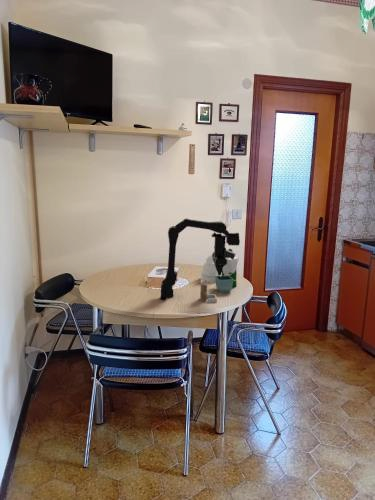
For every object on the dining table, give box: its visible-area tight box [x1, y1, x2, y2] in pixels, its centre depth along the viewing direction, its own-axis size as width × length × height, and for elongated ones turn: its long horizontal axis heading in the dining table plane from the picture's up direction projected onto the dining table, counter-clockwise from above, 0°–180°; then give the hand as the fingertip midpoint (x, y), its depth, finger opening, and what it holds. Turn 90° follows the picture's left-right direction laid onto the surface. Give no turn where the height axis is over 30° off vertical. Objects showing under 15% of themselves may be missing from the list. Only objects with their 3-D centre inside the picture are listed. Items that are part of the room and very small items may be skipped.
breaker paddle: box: [199, 279, 208, 302], centre depth 203 cm, size 3×5×10 cm, turn 2°
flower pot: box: [214, 275, 233, 293], centre depth 221 cm, size 9×9×9 cm
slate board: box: [207, 293, 218, 303], centre depth 205 cm, size 17×10×3 cm, turn 92°
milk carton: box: [221, 256, 239, 288], centre depth 233 cm, size 9×9×20 cm
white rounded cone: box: [200, 254, 222, 283], centre depth 247 cm, size 13×13×18 cm
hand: (218, 273), depth 207 cm, fingers open, 9 cm apart
